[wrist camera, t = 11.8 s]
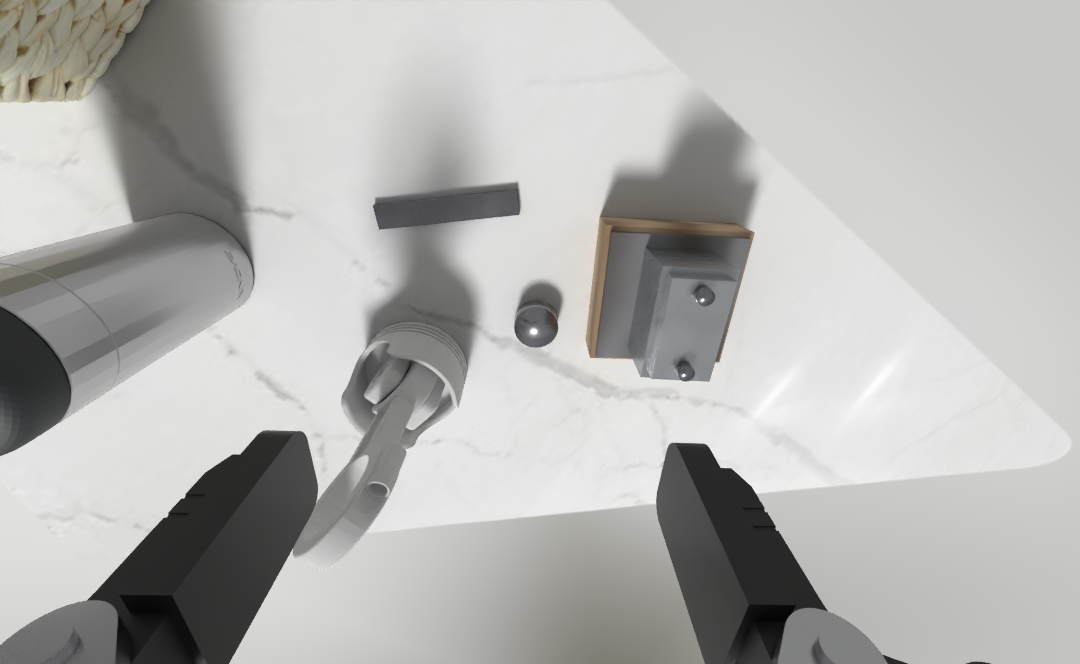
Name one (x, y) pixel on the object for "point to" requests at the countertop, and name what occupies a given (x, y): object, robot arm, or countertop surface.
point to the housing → (680, 313)
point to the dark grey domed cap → (536, 324)
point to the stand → (623, 265)
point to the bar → (447, 209)
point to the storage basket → (60, 45)
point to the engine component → (383, 430)
